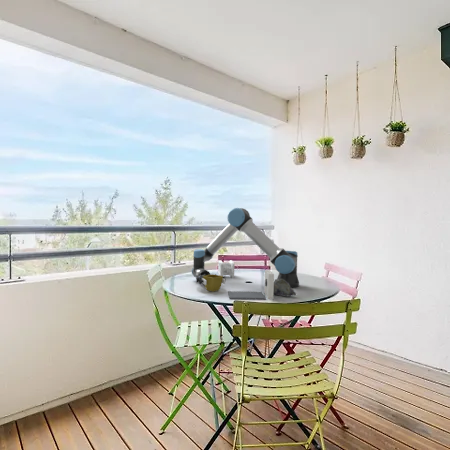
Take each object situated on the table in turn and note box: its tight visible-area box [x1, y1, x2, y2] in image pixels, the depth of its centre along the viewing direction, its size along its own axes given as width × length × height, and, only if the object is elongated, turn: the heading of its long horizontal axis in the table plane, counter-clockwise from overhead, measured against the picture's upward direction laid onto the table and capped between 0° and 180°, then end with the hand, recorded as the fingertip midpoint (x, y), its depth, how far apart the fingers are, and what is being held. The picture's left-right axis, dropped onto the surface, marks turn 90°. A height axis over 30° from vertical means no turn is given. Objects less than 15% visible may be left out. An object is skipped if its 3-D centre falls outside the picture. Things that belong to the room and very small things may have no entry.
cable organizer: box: [217, 259, 235, 279], centre depth 245 cm, size 15×11×12 cm
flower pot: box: [203, 273, 224, 293], centre depth 202 cm, size 9×9×9 cm
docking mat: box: [227, 290, 267, 301], centre depth 191 cm, size 20×14×1 cm
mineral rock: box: [273, 278, 297, 297], centre depth 193 cm, size 13×11×10 cm
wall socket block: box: [263, 269, 275, 300], centre depth 191 cm, size 4×12×14 cm, turn 3°
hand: (215, 282), depth 198 cm, fingers closed on flower pot, 11 cm apart
